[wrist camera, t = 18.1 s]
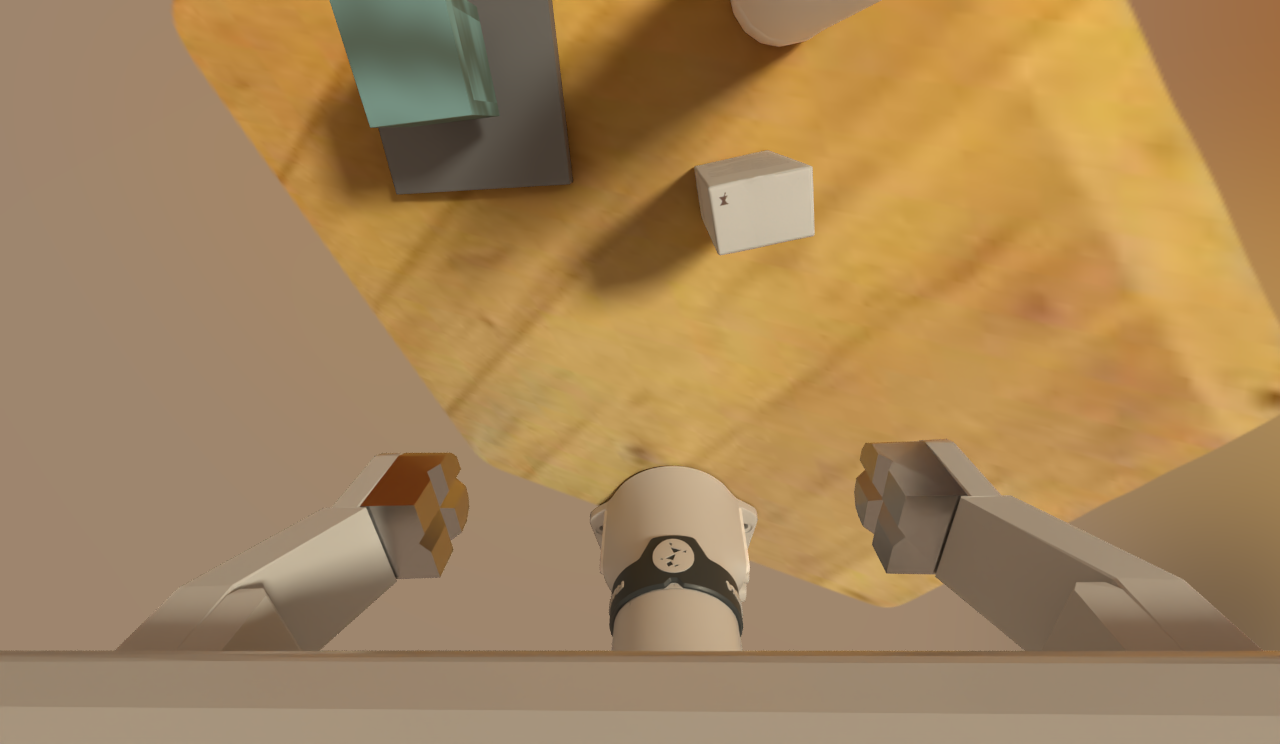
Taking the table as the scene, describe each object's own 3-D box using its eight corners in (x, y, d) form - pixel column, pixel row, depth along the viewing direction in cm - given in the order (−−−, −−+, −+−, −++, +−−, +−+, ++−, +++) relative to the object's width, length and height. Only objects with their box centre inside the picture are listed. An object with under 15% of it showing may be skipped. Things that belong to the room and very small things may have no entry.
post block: (573, 181, 40) (550, 199, 32) (405, 191, 40) (342, 210, 33) (542, -78, 32) (503, -140, 24) (338, -59, 33) (236, -113, 25)
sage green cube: (499, 116, 34) (472, 114, 29) (413, 126, 34) (370, 127, 29) (476, 6, 31) (441, -18, 26) (383, 19, 32) (329, -2, 26)
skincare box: (701, 220, 41) (715, 258, 30) (693, 165, 39) (705, 185, 28) (775, 204, 40) (816, 237, 29) (771, 148, 38) (813, 161, 27)
